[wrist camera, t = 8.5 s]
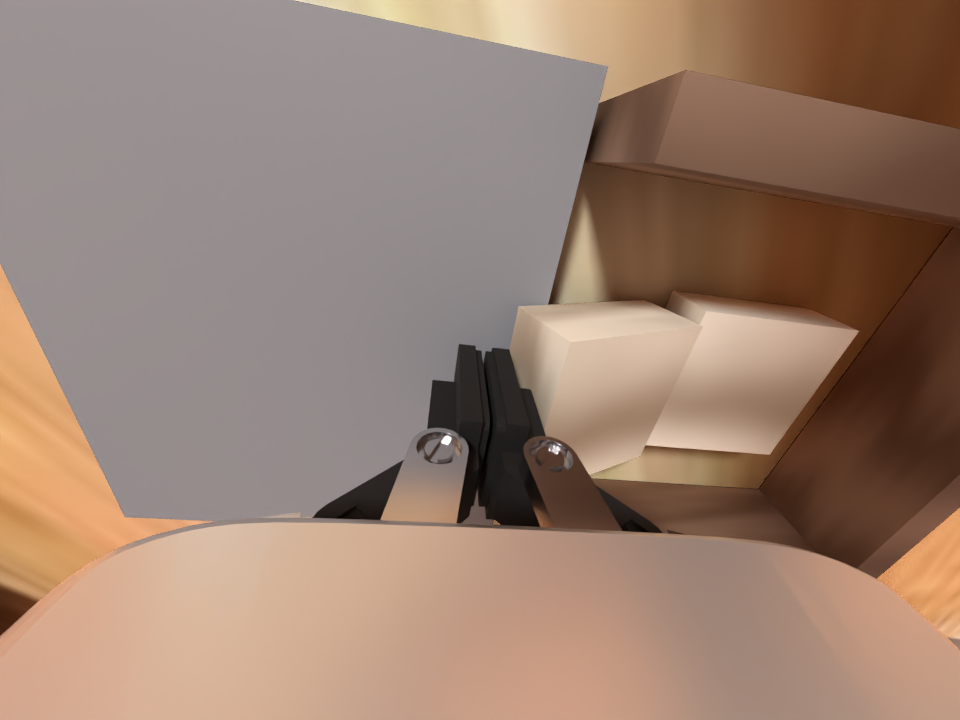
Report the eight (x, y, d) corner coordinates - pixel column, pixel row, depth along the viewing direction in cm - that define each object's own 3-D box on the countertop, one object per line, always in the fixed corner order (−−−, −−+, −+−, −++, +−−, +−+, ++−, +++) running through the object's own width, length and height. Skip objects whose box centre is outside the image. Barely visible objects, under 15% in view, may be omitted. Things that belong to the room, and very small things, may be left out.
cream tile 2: (668, 287, 14) (706, 311, 12) (801, 305, 15) (859, 330, 13) (618, 408, 17) (641, 444, 15) (731, 418, 18) (769, 454, 16)
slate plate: (-52, -48, 9) (-180, -100, 7) (583, 81, 11) (607, 66, 9) (158, 480, 17) (124, 517, 16) (487, 499, 19) (490, 533, 17)
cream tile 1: (518, 306, 11) (570, 342, 9) (644, 299, 14) (703, 326, 12) (488, 449, 14) (523, 499, 12) (597, 420, 17) (640, 456, 15)
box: (594, 105, 11) (685, 69, 7) (1021, 188, 13) (1312, 204, 8) (498, 493, 19) (510, 592, 15) (768, 508, 21) (850, 601, 17)
